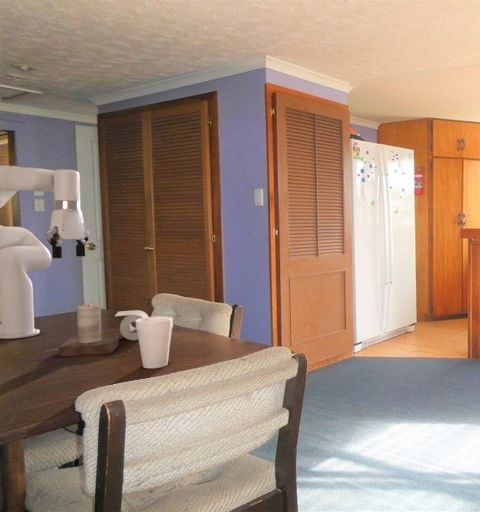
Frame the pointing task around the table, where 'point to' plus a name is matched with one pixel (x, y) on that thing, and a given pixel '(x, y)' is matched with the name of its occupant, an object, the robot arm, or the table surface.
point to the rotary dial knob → (89, 323)
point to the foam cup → (154, 340)
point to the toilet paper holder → (126, 326)
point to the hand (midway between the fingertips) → (69, 257)
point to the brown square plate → (88, 346)
